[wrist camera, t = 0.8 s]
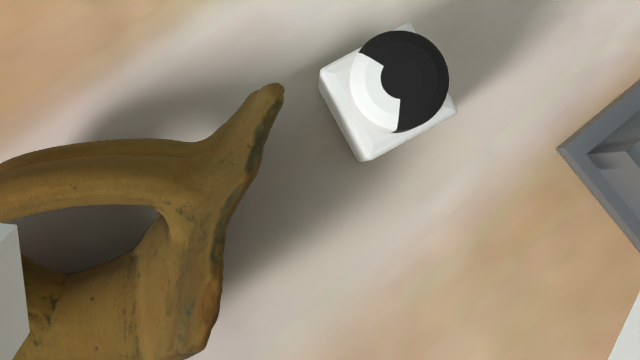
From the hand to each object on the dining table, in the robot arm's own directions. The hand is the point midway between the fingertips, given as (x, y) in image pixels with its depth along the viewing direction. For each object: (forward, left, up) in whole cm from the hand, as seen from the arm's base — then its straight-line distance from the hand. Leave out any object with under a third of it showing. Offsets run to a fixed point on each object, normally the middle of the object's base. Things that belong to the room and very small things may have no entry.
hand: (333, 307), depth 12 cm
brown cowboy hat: (+8, +14, -33) cm, 37 cm away
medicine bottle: (+3, -9, -33) cm, 35 cm away
